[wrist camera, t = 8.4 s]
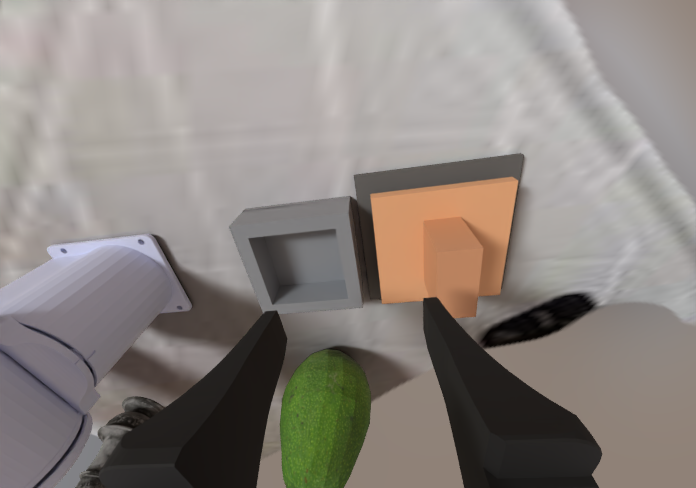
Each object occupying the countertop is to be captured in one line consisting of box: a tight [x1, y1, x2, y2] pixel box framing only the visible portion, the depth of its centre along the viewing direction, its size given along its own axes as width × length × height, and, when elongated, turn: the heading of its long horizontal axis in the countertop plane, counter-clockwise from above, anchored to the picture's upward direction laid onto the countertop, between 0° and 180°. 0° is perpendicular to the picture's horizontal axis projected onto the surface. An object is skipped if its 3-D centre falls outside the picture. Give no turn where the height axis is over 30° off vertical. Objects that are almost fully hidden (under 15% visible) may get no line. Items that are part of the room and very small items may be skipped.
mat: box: [354, 153, 524, 299], centre depth 21 cm, size 11×11×1 cm
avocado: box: [280, 349, 371, 488], centre depth 24 cm, size 8×8×12 cm
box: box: [229, 196, 363, 314], centre depth 21 cm, size 8×8×3 cm
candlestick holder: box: [75, 397, 164, 488], centre depth 31 cm, size 6×6×12 cm
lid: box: [370, 177, 518, 318], centre depth 19 cm, size 9×9×6 cm
